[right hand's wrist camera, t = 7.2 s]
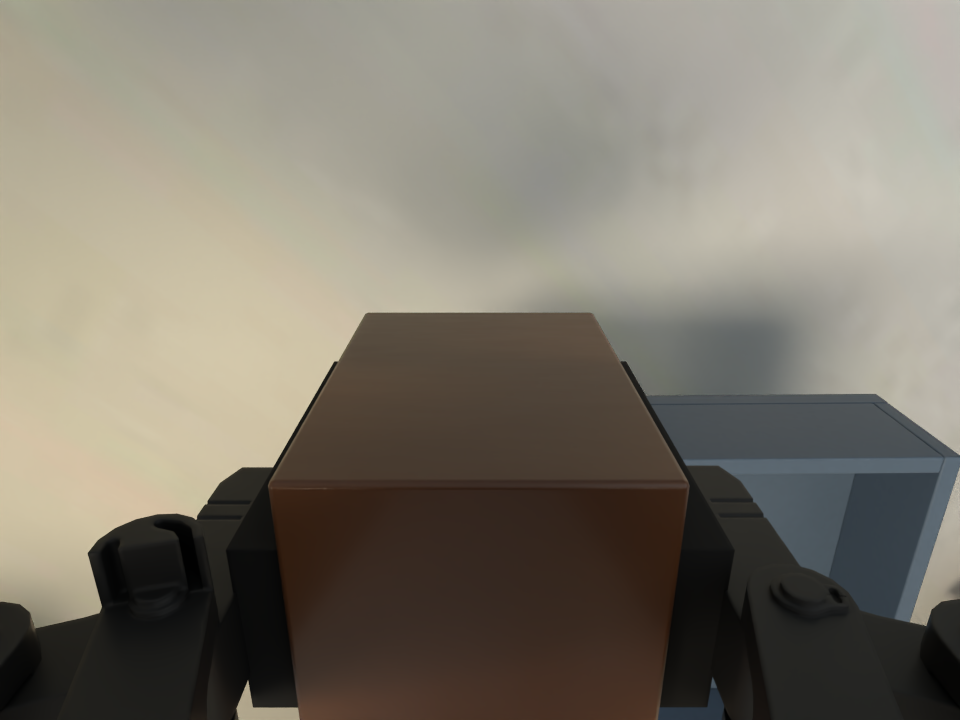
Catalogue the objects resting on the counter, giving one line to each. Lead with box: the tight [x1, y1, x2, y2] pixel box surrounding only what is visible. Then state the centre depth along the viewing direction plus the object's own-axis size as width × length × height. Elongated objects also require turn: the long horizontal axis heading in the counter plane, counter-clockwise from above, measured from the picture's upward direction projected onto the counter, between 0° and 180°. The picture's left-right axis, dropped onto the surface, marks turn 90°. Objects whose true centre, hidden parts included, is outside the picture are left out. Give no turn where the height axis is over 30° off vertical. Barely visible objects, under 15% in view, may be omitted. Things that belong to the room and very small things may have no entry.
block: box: [268, 313, 690, 720], centre depth 12 cm, size 5×5×7 cm
